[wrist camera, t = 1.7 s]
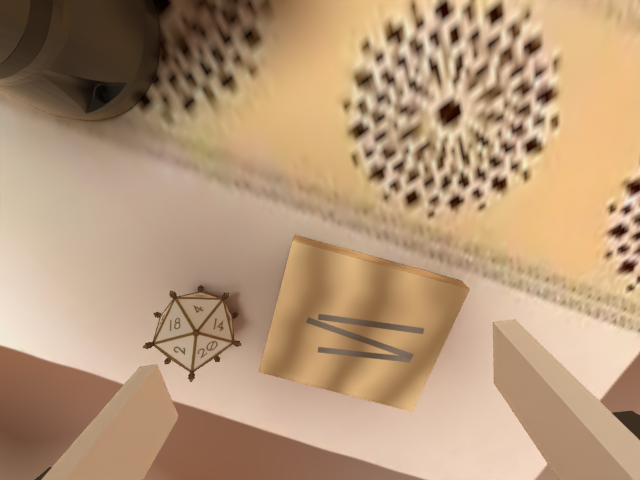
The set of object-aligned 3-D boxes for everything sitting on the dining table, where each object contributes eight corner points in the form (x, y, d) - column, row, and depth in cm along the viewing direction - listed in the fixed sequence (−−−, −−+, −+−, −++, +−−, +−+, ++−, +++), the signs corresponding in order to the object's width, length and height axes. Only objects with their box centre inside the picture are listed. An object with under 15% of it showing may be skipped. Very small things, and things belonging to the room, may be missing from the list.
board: (262, 359, 36) (258, 372, 34) (295, 235, 31) (292, 240, 29) (408, 397, 36) (412, 411, 34) (461, 280, 31) (469, 289, 30)
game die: (227, 279, 37) (237, 271, 28) (244, 348, 36) (259, 363, 27) (144, 300, 33) (125, 299, 24) (161, 377, 33) (147, 407, 23)
